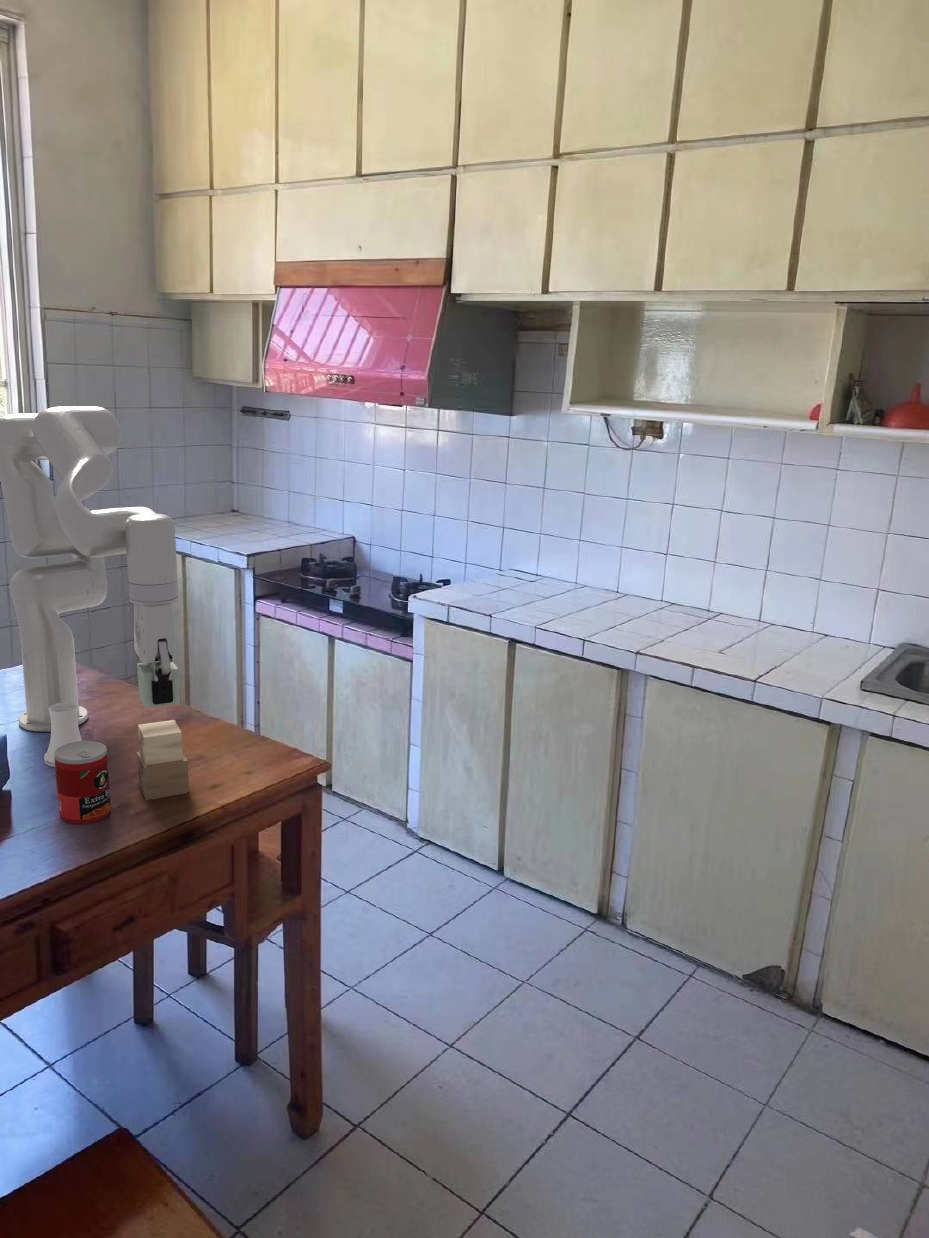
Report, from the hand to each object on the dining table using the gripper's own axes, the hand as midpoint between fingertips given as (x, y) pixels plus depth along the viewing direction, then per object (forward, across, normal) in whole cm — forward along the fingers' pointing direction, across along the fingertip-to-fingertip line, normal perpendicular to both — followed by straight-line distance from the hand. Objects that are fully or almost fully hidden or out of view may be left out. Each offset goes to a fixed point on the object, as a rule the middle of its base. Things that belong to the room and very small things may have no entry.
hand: (158, 695), depth 153 cm
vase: (+17, -19, -13) cm, 29 cm away
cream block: (+17, 0, 0) cm, 17 cm away
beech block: (+11, 0, 0) cm, 11 cm away
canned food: (+17, +4, -13) cm, 22 cm away
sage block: (+1, 0, 0) cm, 1 cm away
